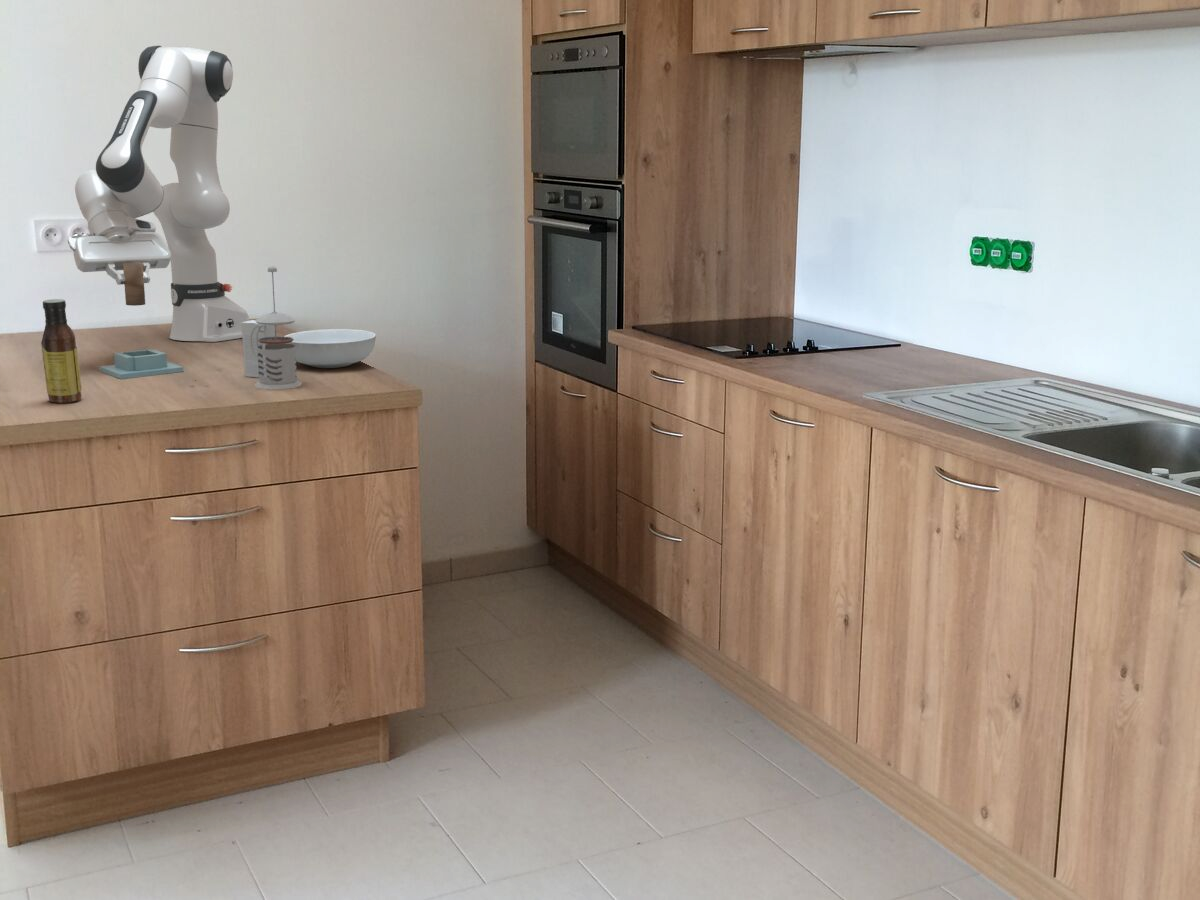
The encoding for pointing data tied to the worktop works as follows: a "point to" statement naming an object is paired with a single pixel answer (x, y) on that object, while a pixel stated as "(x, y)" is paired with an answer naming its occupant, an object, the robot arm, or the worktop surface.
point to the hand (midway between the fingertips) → (134, 282)
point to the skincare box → (254, 345)
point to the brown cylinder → (134, 283)
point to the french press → (276, 352)
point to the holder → (140, 364)
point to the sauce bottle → (60, 355)
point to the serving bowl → (332, 347)
